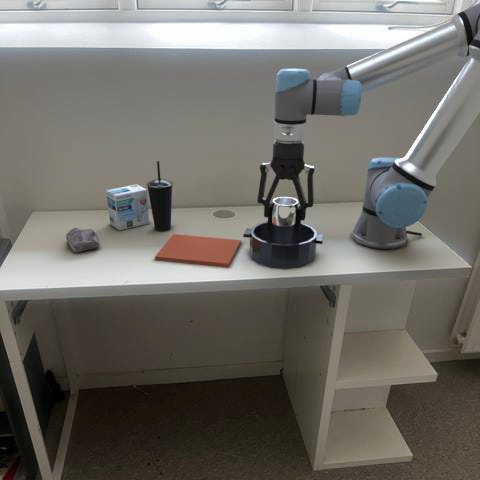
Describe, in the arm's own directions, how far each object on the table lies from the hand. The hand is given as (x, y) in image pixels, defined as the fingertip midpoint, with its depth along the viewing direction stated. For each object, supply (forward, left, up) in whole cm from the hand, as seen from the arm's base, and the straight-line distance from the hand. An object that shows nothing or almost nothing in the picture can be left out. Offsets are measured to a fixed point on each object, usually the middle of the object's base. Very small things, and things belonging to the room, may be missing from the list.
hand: (283, 230), depth 134 cm
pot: (0, 0, -7) cm, 7 cm away
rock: (+55, +7, -7) cm, 56 cm away
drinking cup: (+38, -11, -7) cm, 40 cm away
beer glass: (0, 0, -7) cm, 7 cm away
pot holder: (+22, +3, -7) cm, 24 cm away
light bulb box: (+49, -12, -7) cm, 51 cm away
